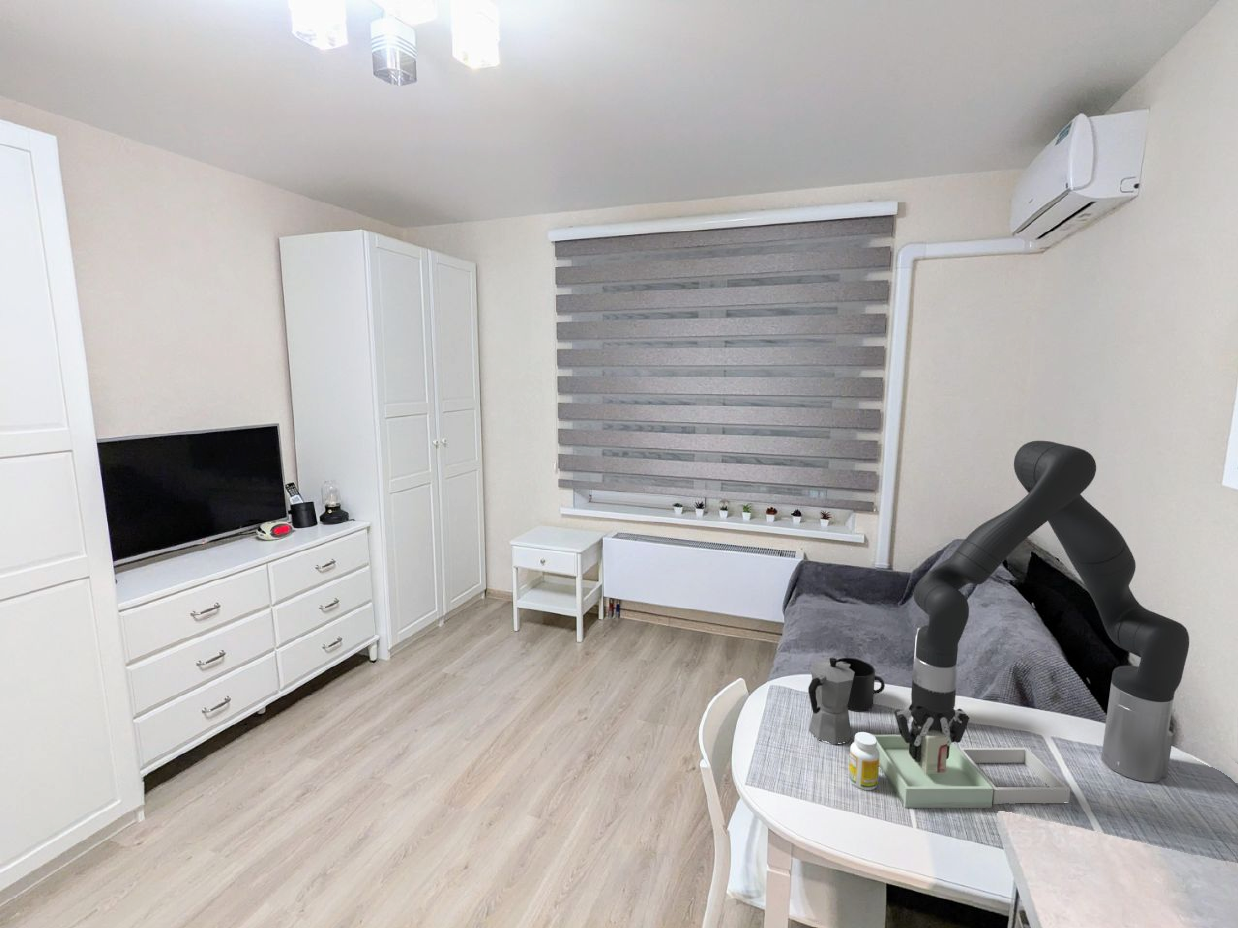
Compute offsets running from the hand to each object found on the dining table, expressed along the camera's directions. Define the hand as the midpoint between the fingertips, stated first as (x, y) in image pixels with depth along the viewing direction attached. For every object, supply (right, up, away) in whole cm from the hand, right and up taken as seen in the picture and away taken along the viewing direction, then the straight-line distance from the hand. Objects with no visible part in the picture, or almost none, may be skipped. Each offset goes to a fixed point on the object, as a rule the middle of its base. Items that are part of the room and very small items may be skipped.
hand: (928, 758), depth 114 cm
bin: (0, -4, +1) cm, 4 cm away
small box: (0, -2, 0) cm, 2 cm away
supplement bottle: (-13, -5, 0) cm, 14 cm away
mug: (-3, 0, +27) cm, 28 cm away
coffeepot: (-15, -2, +15) cm, 21 cm away
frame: (+16, -4, -1) cm, 16 cm away
